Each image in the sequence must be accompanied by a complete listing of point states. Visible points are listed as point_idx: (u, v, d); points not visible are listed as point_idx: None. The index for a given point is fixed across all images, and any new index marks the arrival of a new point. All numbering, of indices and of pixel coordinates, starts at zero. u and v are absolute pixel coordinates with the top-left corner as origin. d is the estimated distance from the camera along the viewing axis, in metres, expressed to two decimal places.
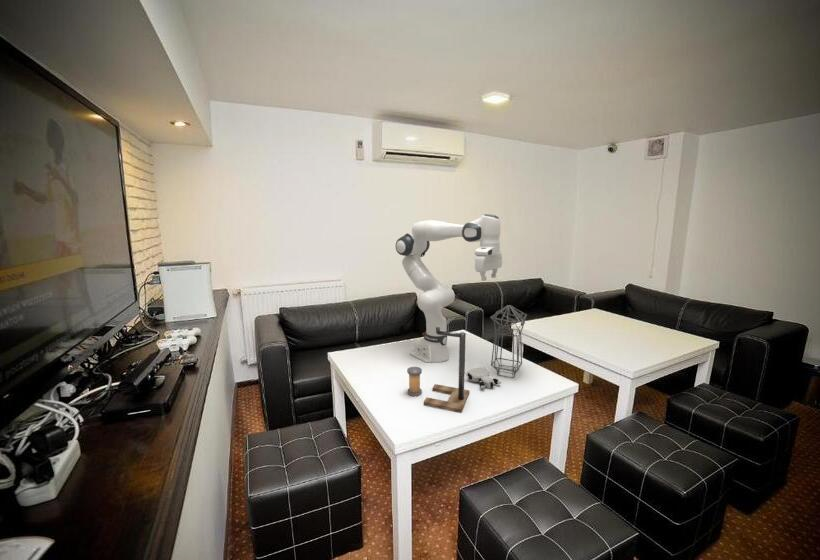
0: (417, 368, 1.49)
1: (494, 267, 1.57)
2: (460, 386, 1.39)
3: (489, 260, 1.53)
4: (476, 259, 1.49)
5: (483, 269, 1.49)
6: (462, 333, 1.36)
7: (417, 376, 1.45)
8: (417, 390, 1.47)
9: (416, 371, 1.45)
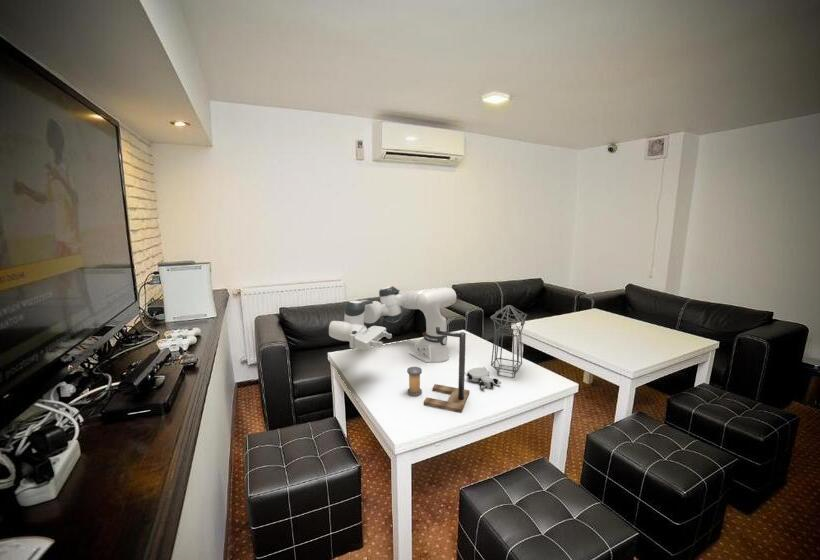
0: (417, 368, 1.49)
1: (377, 332, 1.52)
2: (460, 386, 1.39)
3: (365, 335, 1.50)
4: (356, 346, 1.44)
5: (365, 341, 1.43)
6: (462, 333, 1.36)
7: (417, 376, 1.45)
8: (417, 390, 1.47)
9: (416, 371, 1.45)
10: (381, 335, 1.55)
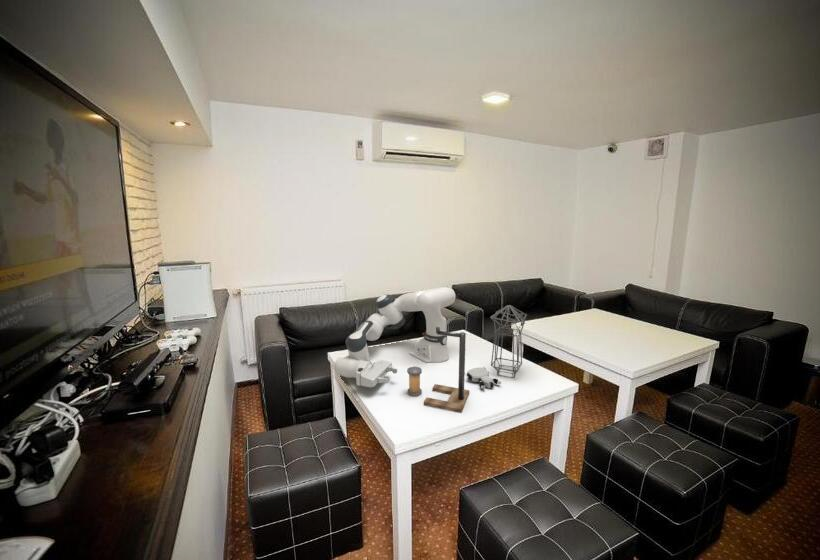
0: (417, 368, 1.49)
1: (383, 368, 1.55)
2: (460, 386, 1.39)
3: (371, 371, 1.52)
4: (362, 384, 1.47)
5: (371, 378, 1.45)
6: (462, 333, 1.36)
7: (417, 376, 1.45)
8: (417, 390, 1.47)
9: (416, 371, 1.45)
10: (387, 370, 1.58)
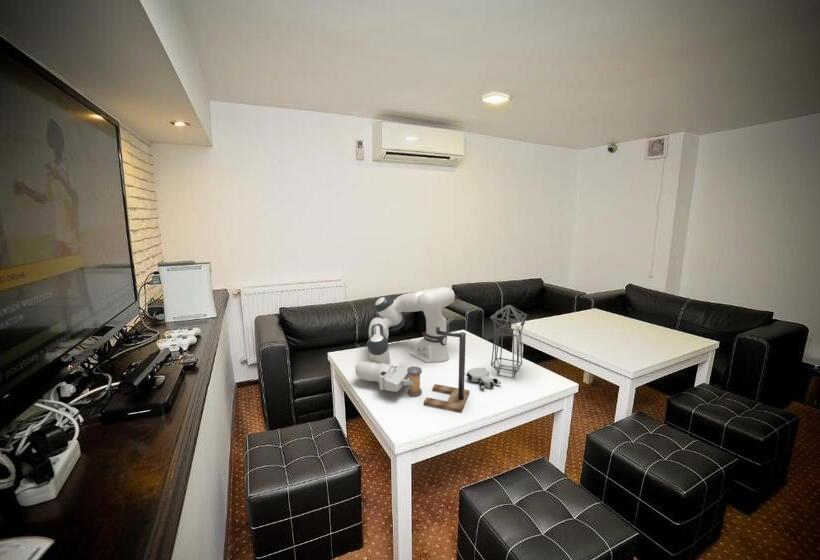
0: (417, 368, 1.49)
1: (406, 371, 1.51)
2: (460, 386, 1.39)
3: (394, 375, 1.48)
4: (386, 388, 1.43)
5: (396, 382, 1.41)
6: (462, 333, 1.36)
7: (417, 376, 1.45)
8: (417, 390, 1.47)
9: (416, 371, 1.45)
10: None
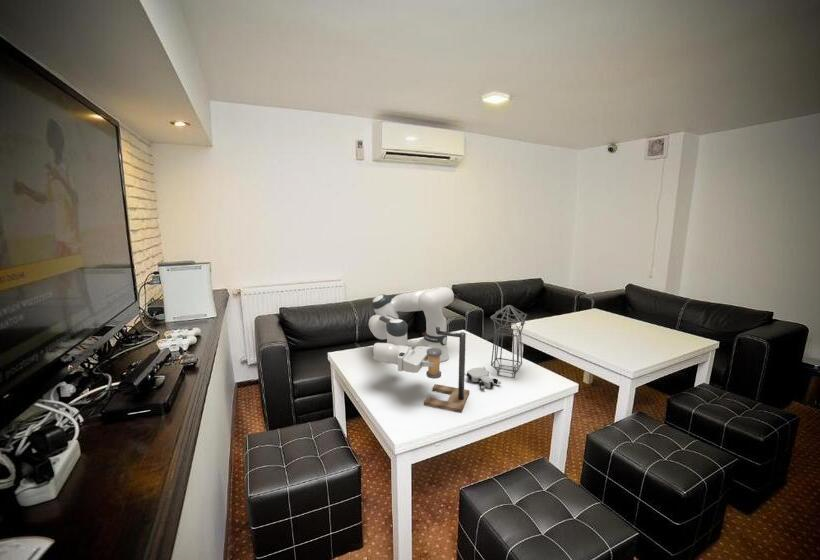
0: (436, 349, 1.43)
1: (425, 353, 1.45)
2: (460, 386, 1.39)
3: (413, 357, 1.42)
4: (405, 369, 1.37)
5: (415, 363, 1.36)
6: (462, 333, 1.36)
7: (437, 357, 1.40)
8: (437, 372, 1.41)
9: (436, 352, 1.40)
10: None
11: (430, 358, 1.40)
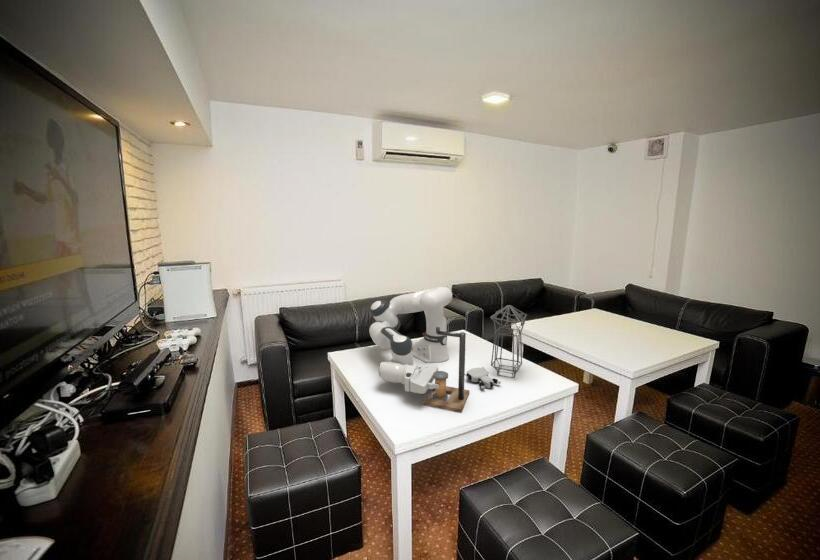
0: (443, 372, 1.44)
1: (431, 373, 1.46)
2: (460, 386, 1.39)
3: (420, 377, 1.43)
4: (412, 390, 1.38)
5: (422, 384, 1.37)
6: (462, 333, 1.36)
7: (444, 381, 1.41)
8: (443, 395, 1.42)
9: (443, 376, 1.41)
10: None
11: (437, 381, 1.41)
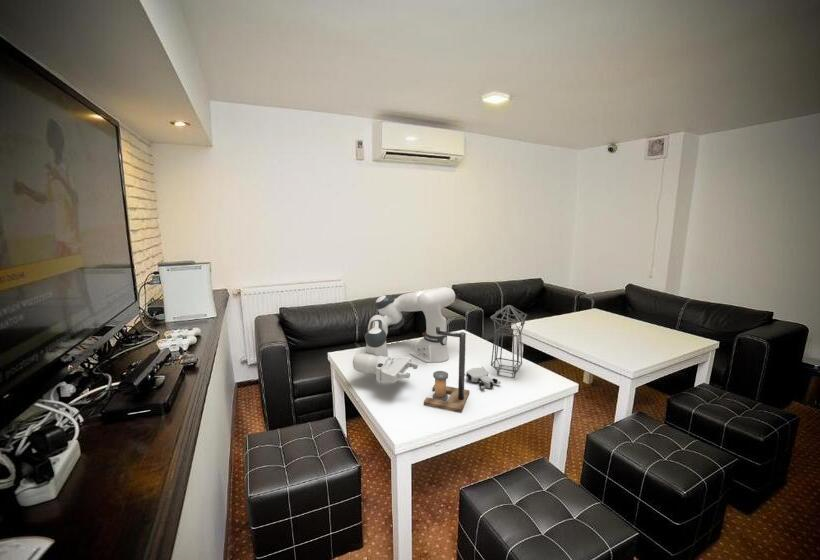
0: (443, 372, 1.44)
1: (403, 364, 1.50)
2: (460, 386, 1.39)
3: (391, 367, 1.47)
4: (383, 380, 1.42)
5: (392, 374, 1.40)
6: (462, 333, 1.36)
7: (444, 381, 1.41)
8: (443, 395, 1.42)
9: (443, 376, 1.41)
10: (407, 366, 1.53)
11: (437, 381, 1.41)
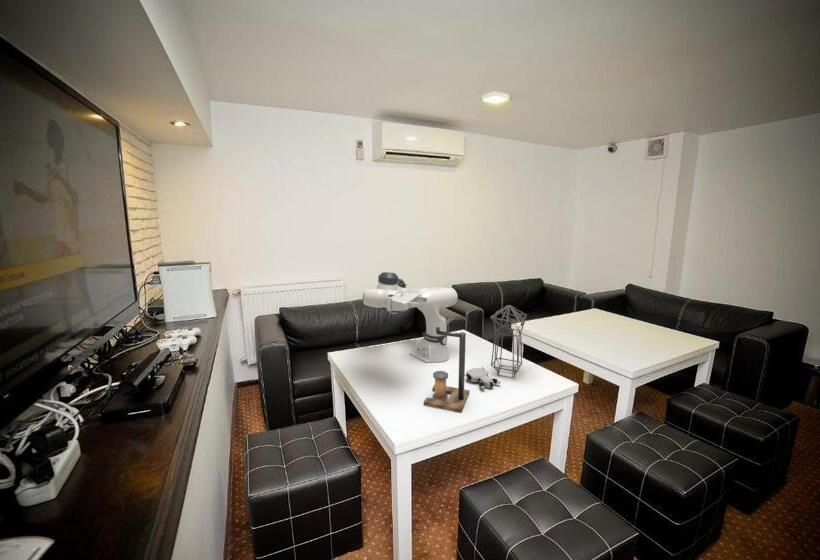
0: (442, 372, 1.44)
1: (413, 296, 1.51)
2: (460, 386, 1.39)
3: (401, 298, 1.48)
4: (393, 308, 1.43)
5: (403, 301, 1.41)
6: (462, 333, 1.36)
7: (443, 381, 1.41)
8: (443, 395, 1.42)
9: (442, 376, 1.41)
10: (416, 300, 1.54)
11: (437, 381, 1.41)
